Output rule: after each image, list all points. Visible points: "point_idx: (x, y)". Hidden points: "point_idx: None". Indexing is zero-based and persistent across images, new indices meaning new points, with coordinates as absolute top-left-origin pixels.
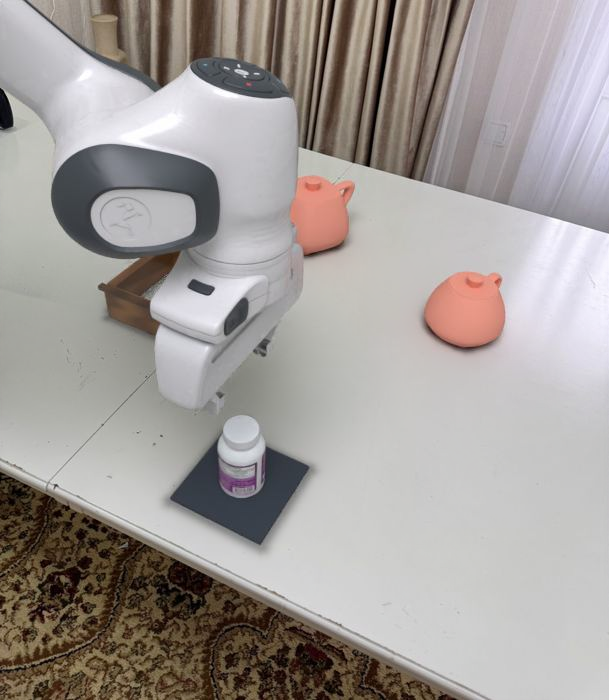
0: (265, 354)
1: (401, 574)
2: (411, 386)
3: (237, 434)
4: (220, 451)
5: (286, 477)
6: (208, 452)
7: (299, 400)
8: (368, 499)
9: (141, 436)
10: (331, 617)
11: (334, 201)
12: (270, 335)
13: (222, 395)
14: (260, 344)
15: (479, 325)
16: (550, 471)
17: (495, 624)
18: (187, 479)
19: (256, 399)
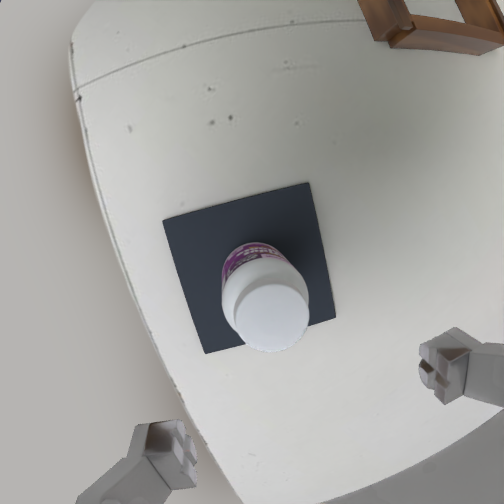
0: (425, 384)
1: (285, 447)
2: (486, 305)
3: (256, 326)
4: (225, 292)
5: None
6: (256, 198)
7: (413, 222)
8: (339, 385)
9: (208, 98)
10: (204, 436)
11: None
12: (478, 394)
13: (187, 487)
14: (444, 383)
15: None
16: (444, 437)
17: (296, 492)
18: (199, 214)
19: (379, 173)
